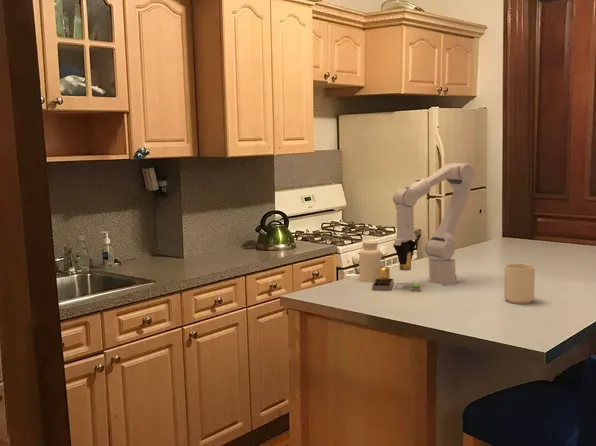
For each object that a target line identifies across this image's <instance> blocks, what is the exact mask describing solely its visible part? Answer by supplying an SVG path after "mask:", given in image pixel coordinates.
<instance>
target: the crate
mask: <svg viewBox="0 0 596 446" xmlns="http://www.w3.org/2000/svg"><path fill="white" fill-rule="evenodd" d="M394 281H395V279H394V278H390V282H378V278H376V280H375V282H372V283H373V284H372V286H371V287H372V288H371V291H378V292H379V291H380V292H381V291H382V292H384V291H386V292H392V290H393V288H394V286H395V282H394Z"/></svg>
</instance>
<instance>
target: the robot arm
mask: <svg viewBox="0 0 596 446" xmlns="http://www.w3.org/2000/svg"><path fill="white" fill-rule="evenodd" d="M475 175H476V174H475V170H474V167H473V165H472V164H471V163H469V162H464V163H463V162H462V163H461V162H460V163H459V162H447V163H446V164H443V165H442V166H441V167H440V168H439V169H438V170H436V171H435V172H433V173H432V174H431V175H430V176H428V177H426V178H423V177H421V178H420V177H417V178H415V181H414V182H412V183H410V184H406V185H405V187H404V188H399V189H397V190H396V191H395V192H394V193H393V194H394V195H393V197H392V201H393V203H394V205H395V210H396V236H395V239H394V242H393V245H392V246H393V248H394V250H395V252H396V255H397V258H398V263H400V264H404V265H406V263H407V255H408V252H411V261H412V259H413V254H414V251H415V248H416V246H417V244H418V241H416V240H417V239H418V236H416V233H415V232H414V231H415V230H414V227H415V226H414V225H415V224H414V218H415V217H414V206H415V205H416V204H417V201H418V200H419V199H421V198H423V197H424V196H426V195H427V194H429V193H430V192H431V188H433V187H434V186H436V185H438V184H439V183H441V182H443V181H445V180H446V181H447V183H448V184H449V186H450V187H451V188H452V190H453V192H452V194H451V197H450V200H449V202H448V204H447V207H446V209H445V212H444V214H443V217H442V219H441V222H440V224H439V227H438V229H437V230H436V231H435V232H434V233H432V234H431V235H430V237H429V238H428V240H427V241H426V242H425V245H424V253H425V254H426V255H427V258H428V277H429V278H428V280H429V281H428V282H431V283H434V284H441V285H442V286H456V280H457V275H456V259H455V258H454V259H452V258H453V256H454V255H455V248H456V247H455V246H456V243H457V241H456V240H455V237H454V236H453V235H454V233H455V231H456V229H457V226H458V223H459V221H460V219H461V215H462V214H463V210H464V208H465V207H466V204H467V201H468V198H469V196H470V194H471V190H472V183H473V180H474V178H475Z"/></svg>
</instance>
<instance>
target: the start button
mask: <svg viewBox="0 0 596 446" xmlns="http://www.w3.org/2000/svg"><path fill="white" fill-rule="evenodd" d="M411 287H414V288H418V287H421V285H420V283H419V284H411Z"/></svg>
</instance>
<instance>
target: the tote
mask: <svg viewBox="0 0 596 446" xmlns="http://www.w3.org/2000/svg"><path fill="white" fill-rule="evenodd" d="M412 284H420V283H417V282H416V283H415V282H414V283H413V282H412V283H411V282H410V283H409V282H407V283H406V282H395V283H394V286H393V289H394V290H411V287H410V288H409V287H398V285H412Z"/></svg>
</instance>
